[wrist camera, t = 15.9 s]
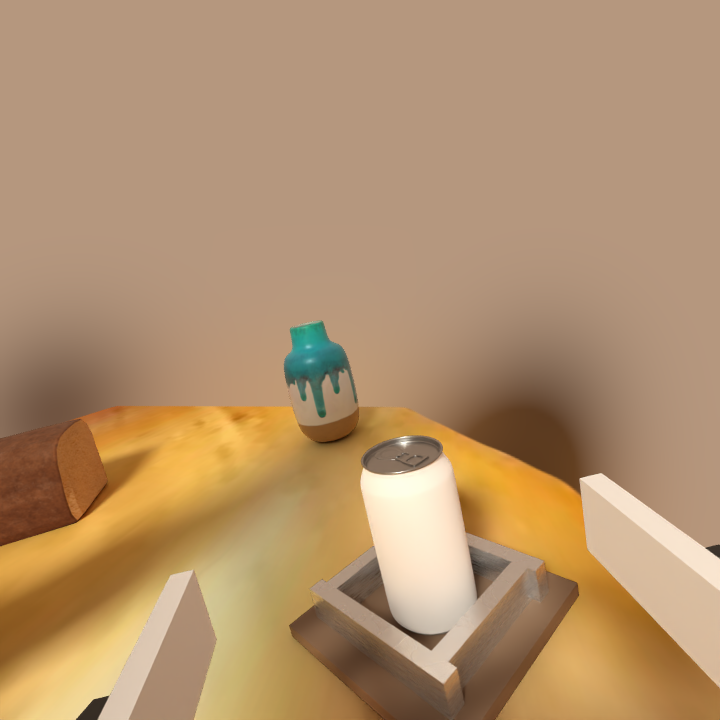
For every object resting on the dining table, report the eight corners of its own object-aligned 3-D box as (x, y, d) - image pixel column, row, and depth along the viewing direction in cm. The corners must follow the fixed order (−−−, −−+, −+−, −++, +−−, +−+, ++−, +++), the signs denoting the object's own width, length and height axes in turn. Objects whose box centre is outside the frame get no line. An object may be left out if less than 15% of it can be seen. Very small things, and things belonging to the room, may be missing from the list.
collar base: (292, 636, 33) (289, 625, 33) (419, 531, 43) (417, 522, 43) (453, 781, 22) (449, 765, 22) (578, 595, 31) (577, 583, 31)
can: (428, 561, 37) (400, 428, 34) (496, 594, 32) (468, 440, 29) (372, 610, 33) (336, 463, 31) (439, 656, 28) (402, 485, 26)
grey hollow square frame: (317, 616, 33) (309, 588, 33) (415, 536, 41) (409, 511, 40) (451, 721, 24) (443, 684, 23) (548, 591, 31) (544, 560, 31)
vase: (342, 452, 66) (311, 328, 62) (289, 450, 72) (258, 335, 68) (376, 424, 74) (351, 313, 71) (327, 424, 80) (301, 321, 76)
